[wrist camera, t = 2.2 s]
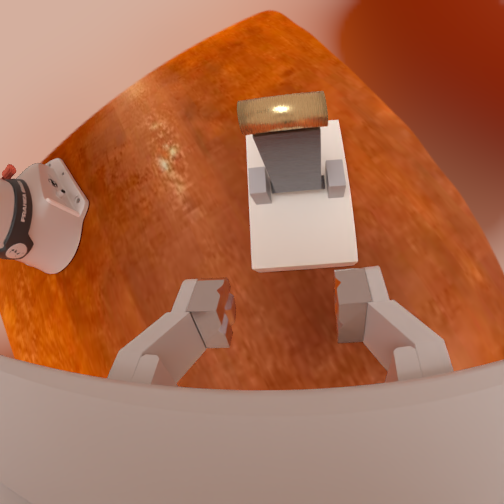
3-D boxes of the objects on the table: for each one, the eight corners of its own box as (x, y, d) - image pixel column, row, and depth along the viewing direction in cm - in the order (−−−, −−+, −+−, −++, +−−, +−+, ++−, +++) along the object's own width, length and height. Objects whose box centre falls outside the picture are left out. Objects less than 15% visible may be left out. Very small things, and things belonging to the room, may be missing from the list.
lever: (325, 195, 35) (328, 113, 19) (273, 199, 36) (237, 123, 20) (322, 173, 36) (322, 84, 19) (271, 178, 37) (236, 94, 20)
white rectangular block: (353, 265, 38) (363, 255, 30) (259, 272, 41) (243, 265, 32) (337, 136, 41) (339, 100, 33) (252, 144, 44) (237, 111, 35)
